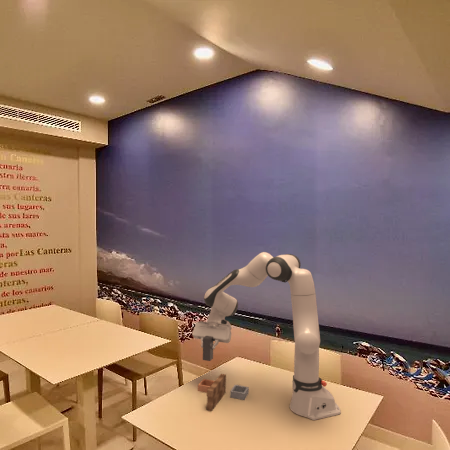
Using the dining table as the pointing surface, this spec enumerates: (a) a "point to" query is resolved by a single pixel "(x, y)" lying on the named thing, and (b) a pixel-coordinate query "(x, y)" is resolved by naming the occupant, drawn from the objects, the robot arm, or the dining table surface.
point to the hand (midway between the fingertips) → (207, 347)
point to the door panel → (216, 392)
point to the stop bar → (207, 348)
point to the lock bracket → (205, 385)
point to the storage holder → (239, 392)
